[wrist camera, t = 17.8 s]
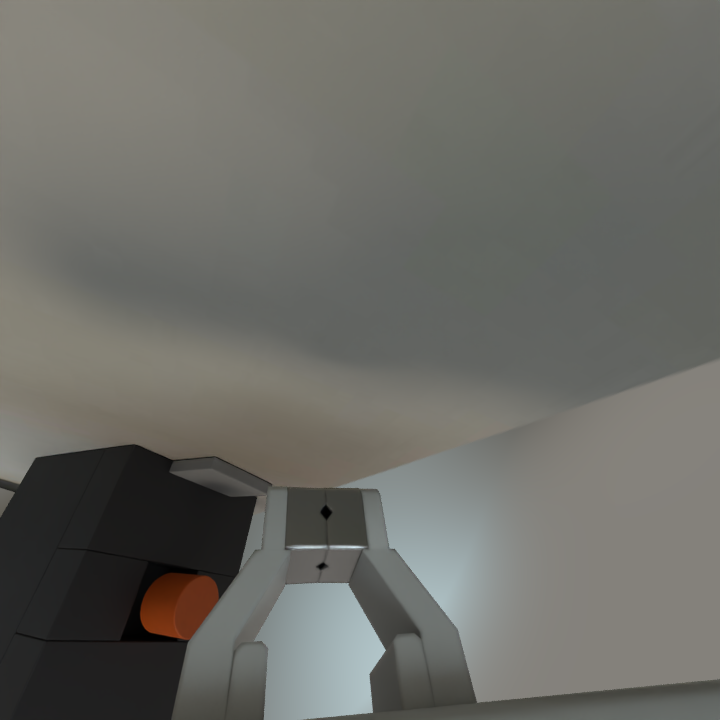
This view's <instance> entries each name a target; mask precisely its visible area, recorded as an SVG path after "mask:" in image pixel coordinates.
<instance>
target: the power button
mask: <svg viewBox="0 0 720 720" xmlns="http://www.w3.org/2000/svg"><path fill="white" fill-rule="evenodd" d="M218 598H219V595H218V588H217V585H216V583H215V581H214V580H213V579H212V578H211V577H209V576H205V575H194V574H182V573H167V574H164V575H162V576H161V577H159V578H158V579H157V580H155V581H154V582H153V583H152V585H151V586H150V587H149V589H148V590H147V592H146V594H145V596H144V598H143V601H142V604H141V611H140V617H141V622H142V624H143V626H144V628H145V629H146V630H147V631H148V632H151V633H154V634H160V635H165V636H170V637H175V638H180V639H186V640H190V639H191V638H192V636H193V635H194V634H195V632H196V631H197V629H198V628H199V627H200V625H201V624H202V623H203V621H204V620H205V618H206V617H207V616H208V614H209V613H210V612H211V610H212V609H213V607H214V606H215V605H216V603H217V602H218Z"/></svg>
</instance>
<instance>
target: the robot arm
mask: <svg viewBox="0 0 720 720" xmlns="http://www.w3.org/2000/svg"><path fill="white" fill-rule="evenodd" d="M302 583H349V586H350V588H351V590H352V592H353V593H354V595H355V597H356V599H357V600H358V602H359V604H360V605H361V607H362V609H363V611H364V613H365V614H366V616H367V618H368V620H369V621H370V623H371V625H372V627H373V628H374V630H375V632H376V634H377V635H378V637H379V638H380V641H381V642H382V644H383V646H384V647H385V649H386V651H385V653H384V654H383V656H382V657H381V659H380V660H379V662H378V663H377V664H376V666H375V667H374V669H373V670H372V672H371V673H370V684H371V694H372V705H373V713H368V714H357V715H346V716H337V717H326V718H316V719H306V720H720V679H717V680H708V681H697V682H686V683H676V684H666V685H656V686H646V687H636V688H625V689H616V690H615V689H614V690H604V691H594V692H583V693H574V694H564V695H553V696H542V697H532V698H523V699H511V700H501V701H492V702H480V703H477V701H476V697H475V694H474V690H473V686H472V682H471V678H470V675H469V671H468V667H467V663H466V660H465V655H464V652H463V648H462V644H461V640H460V637H459V633H458V630H457V628H456V627H455V625H454V624H453V623H452V622H451V620H450V619H449V618H448V617H447V615H446V614H445V613H444V611H443V610H442V609H441V608H440V606H439V605H438V604H437V602H436V601H435V600H434V599H433V597H432V596H431V595H430V594H429V592H428V591H427V590H426V588H425V587H424V586H423V585H422V583H421V582H420V581H419V579H418V578H417V577H416V576H415V574H414V573H413V572H412V570H411V569H410V568H409V567H408V565H407V564H406V563H405V562H404V560H403V559H402V558H401V556H400V555H399V554H398V553H397V551H396V550H395V549H389V543H388V538H387V532H386V526H385V520H384V514H383V509H382V502H381V496H380V493H379V491H378V490H377V489H359V488H299V487H273V486H268V490H267V497H266V507H265V518H264V528H263V538H262V548H261V550H255V551H254V552H253V554H252V555H251V557H250V558H249V559H248V561H247V562H246V563H245V565H244V566H243V568H242V569H241V570H240V572H239V573H238V574H237V576H236V577H235V579H234V580H233V581H232V583H231V584H230V585H229V587H228V588H227V590H226V591H225V592H224V594H223V595H222V596H221V598H220V599H219V601H218V602H217V603H216V605H215V606H214V607H213V609H212V610H211V612H210V613H209V614H208V616H207V617H206V618H205V620H204V621H203V623H202V624H201V625H200V627H199V628H198V629H197V631H196V632H195V634H194V635H193V636H192V638H191V639H190V640H189V642H188V644H187V649H186V653H185V658H184V663H183V667H182V672H181V676H180V681H179V686H178V690H177V695H176V700H175V704H174V709H173V713H172V718H171V720H263V719H264V704H265V688H266V672H267V656H268V648H267V647H266V645H265V644H264V643H263V642H262V641H257V642H253V641H254V640H255V638H256V636H257V634H258V633H259V630H260V629H261V627H262V625H263V624H264V622H265V620H266V618H267V617H268V615H269V613H270V611H271V610H272V608H273V606H274V604H275V603H276V601H277V599H278V597H279V596H280V594H281V592H282V590H283V589H284V587H285V584H302Z"/></svg>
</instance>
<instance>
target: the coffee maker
mask: <svg viewBox="0 0 720 720" xmlns="http://www.w3.org/2000/svg"><path fill="white" fill-rule="evenodd" d="M268 486H272V485H271V484H269V483H267V482H265V481H263V480H261V479H259V478H257V477H255V476H253V475H251V474H249V473H247V472H245V471H242V470H240V469H238V468H236V467H234V466H232V465H230V464H228V463H226V462H224V461H222V460H220V459H218V458H216V457H211V458H201V459H191V460H181V461H171V460H169V459H166V458H164V457H162V456H159V455H157V454H155V453H152V452H150V451H148V450H145V449H143V448H141V447H138V446H136V445H130V446H123V447H115V448H108V449H101V450H94V451H86V452H79V453H71V454H64V455H56V456H49V457H41V458H36V459H35V460H34V462H33V463H32V465H31V467H30V468H29V470H28V472H27V473H26V475H25V477H24V479H23V480H22V482H21V484H20V485H19V487H18V489H17V490H16V492H15V494H14V496H13V497H12V499H11V501H10V502H9V504H8V506H7V507H6V509H5V511H4V512H3V514H2V516H1V517H0V720H171V718H172V713H173V709H174V704H175V700H176V695H177V690H178V686H179V681H180V676H181V672H182V667H183V663H184V658H185V653H186V649H187V644H188V642H189V640H186V639H180V638H175V637H170V636H165V635H160V634H154V633H151V632H148V631H147V630H146V629H145V628H144V626H143V624H142V622H141V617H140V611H141V604H142V601H143V598H144V596H145V594H146V592H147V590H148V589H149V587H150V586H151V585H152V583H153V582H154V581H155V580H157V579H158V578H159V577H161V576H162V575H164V574H167V573H182V574H194V575H205V576H209V577H211V578H212V579H213V580H214V581H215V583H216V585H217V588H218V595H219V598H218V601H219V599H220V598H221V596H222V595H223V594H224V592H225V591H226V590H227V588H228V587H229V585H230V584H231V583H232V581H233V580H234V579H235V577H236V576H237V574H238V573H239V569H240V565H241V561H242V557H243V552H244V549H245V545H246V540H247V536H248V532H249V528H250V524H251V520H252V516H253V512H254V508H255V504H256V499H257V497H255V496H266V495H267V490H268Z"/></svg>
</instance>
